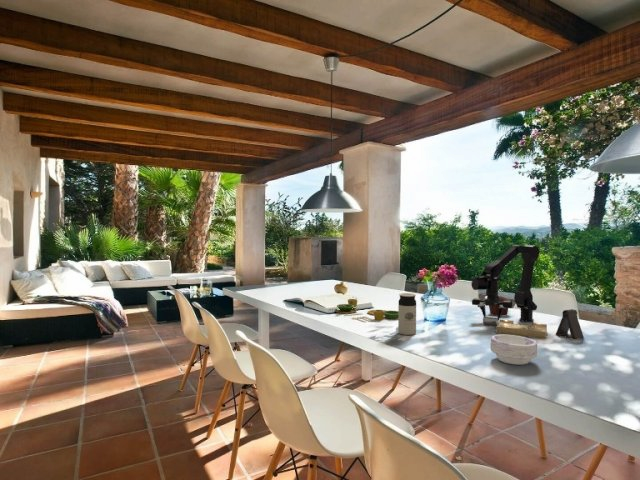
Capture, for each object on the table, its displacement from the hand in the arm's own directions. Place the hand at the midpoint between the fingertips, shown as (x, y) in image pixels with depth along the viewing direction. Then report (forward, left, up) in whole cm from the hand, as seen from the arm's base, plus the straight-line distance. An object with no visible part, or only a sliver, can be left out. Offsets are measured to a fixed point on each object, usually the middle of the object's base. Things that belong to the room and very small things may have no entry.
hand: (491, 319), depth 210 cm
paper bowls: (+63, +16, -2) cm, 65 cm away
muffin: (-26, 0, -2) cm, 26 cm away
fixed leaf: (+15, +15, -2) cm, 21 cm away
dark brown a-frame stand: (+12, +34, -2) cm, 36 cm away
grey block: (+3, 0, -2) cm, 3 cm away
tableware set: (+13, -66, -2) cm, 67 cm away
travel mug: (+44, -30, -2) cm, 53 cm away
